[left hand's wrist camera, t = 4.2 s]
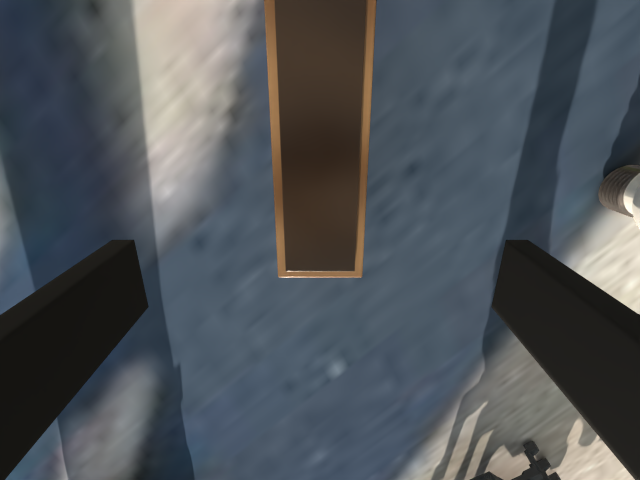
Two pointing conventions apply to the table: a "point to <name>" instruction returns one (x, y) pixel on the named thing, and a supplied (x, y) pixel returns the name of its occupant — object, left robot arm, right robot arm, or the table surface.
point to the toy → (533, 476)
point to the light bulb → (622, 191)
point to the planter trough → (320, 131)
